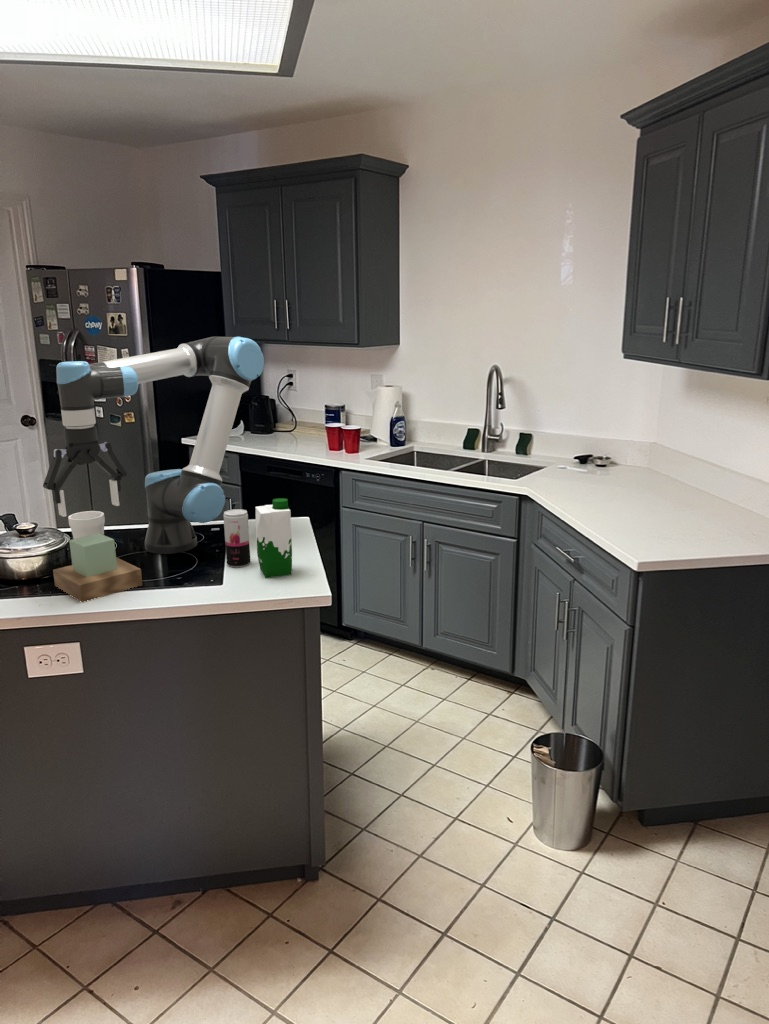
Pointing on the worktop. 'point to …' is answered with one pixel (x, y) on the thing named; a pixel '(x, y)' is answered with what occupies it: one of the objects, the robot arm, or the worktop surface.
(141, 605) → the worktop surface
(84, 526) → the foam cup
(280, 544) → the milk carton
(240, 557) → the beverage can
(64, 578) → the walnut block
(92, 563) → the sage cube
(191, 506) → the robot arm
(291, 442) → the worktop surface
